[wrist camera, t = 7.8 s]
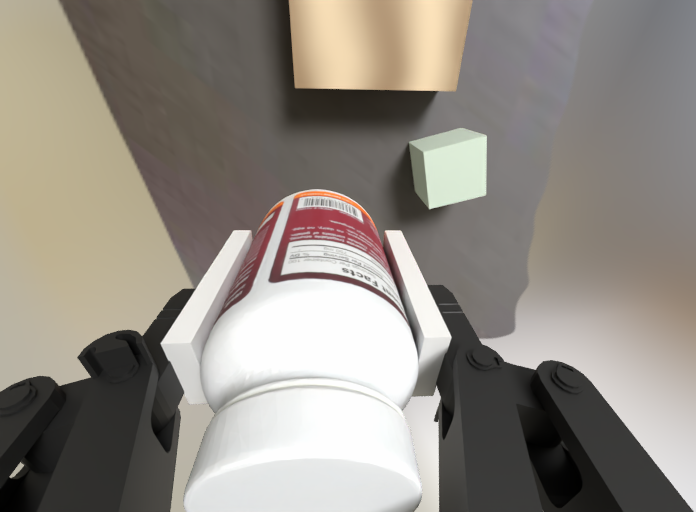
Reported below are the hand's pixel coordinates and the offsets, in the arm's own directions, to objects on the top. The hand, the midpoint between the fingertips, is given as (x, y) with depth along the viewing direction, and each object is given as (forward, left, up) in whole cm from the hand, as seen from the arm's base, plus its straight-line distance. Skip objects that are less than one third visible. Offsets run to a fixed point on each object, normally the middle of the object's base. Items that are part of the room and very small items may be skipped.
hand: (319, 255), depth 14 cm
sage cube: (+11, +1, -16) cm, 20 cm away
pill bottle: (0, 0, -2) cm, 2 cm away
